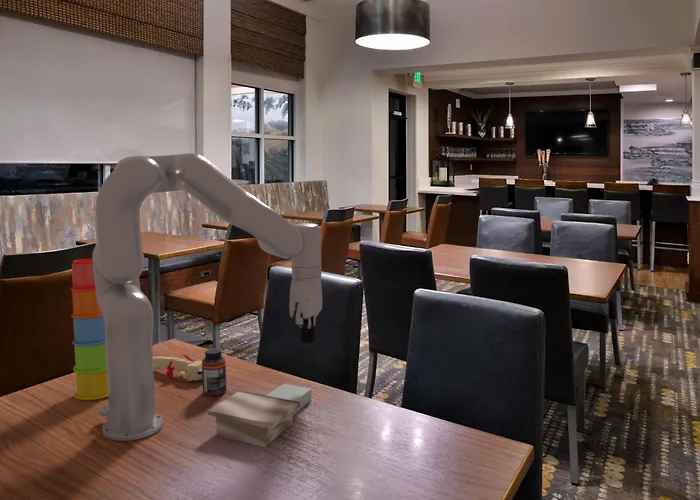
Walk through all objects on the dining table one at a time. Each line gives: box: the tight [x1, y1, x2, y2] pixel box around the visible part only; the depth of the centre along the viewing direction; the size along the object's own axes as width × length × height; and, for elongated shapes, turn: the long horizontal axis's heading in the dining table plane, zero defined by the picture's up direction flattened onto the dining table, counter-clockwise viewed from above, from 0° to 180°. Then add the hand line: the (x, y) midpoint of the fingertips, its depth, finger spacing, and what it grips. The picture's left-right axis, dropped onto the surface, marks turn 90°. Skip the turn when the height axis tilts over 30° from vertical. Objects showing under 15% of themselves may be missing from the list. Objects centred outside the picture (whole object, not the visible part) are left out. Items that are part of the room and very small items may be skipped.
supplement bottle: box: [201, 347, 227, 397], centre depth 144 cm, size 6×6×11 cm
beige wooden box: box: [207, 390, 300, 448], centre depth 124 cm, size 12×16×6 cm
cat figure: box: [153, 353, 202, 382], centre depth 157 cm, size 10×9×25 cm
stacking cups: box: [70, 258, 108, 401], centre depth 141 cm, size 10×10×35 cm
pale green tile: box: [266, 383, 312, 417], centre depth 137 cm, size 8×12×3 cm, turn 157°
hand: (308, 341), depth 145 cm, fingers closed
